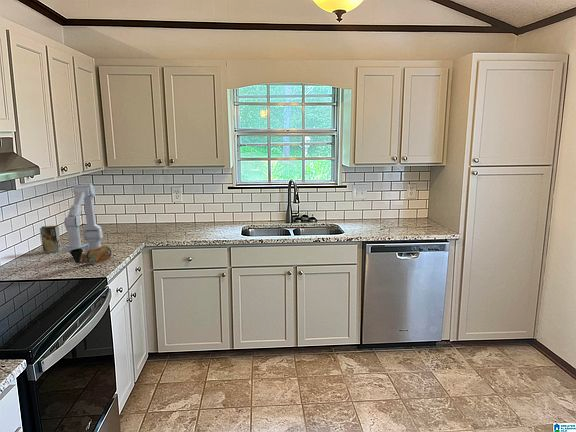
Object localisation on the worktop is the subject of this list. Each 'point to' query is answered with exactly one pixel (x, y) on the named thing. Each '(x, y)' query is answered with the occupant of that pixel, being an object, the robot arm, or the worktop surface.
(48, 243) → the coffee box
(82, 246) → the robot arm
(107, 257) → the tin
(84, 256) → the letter block
